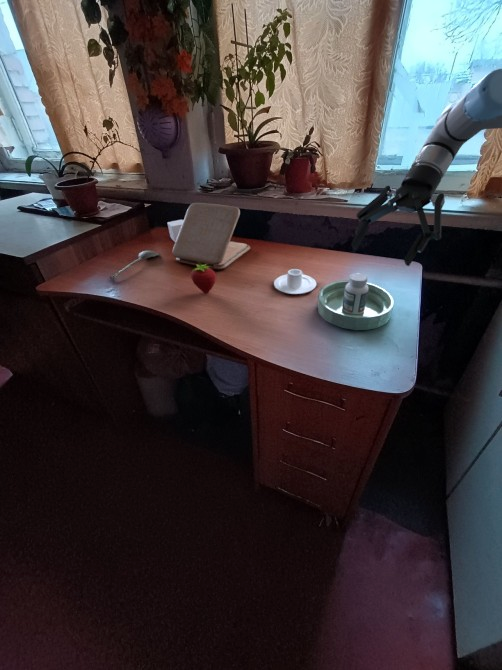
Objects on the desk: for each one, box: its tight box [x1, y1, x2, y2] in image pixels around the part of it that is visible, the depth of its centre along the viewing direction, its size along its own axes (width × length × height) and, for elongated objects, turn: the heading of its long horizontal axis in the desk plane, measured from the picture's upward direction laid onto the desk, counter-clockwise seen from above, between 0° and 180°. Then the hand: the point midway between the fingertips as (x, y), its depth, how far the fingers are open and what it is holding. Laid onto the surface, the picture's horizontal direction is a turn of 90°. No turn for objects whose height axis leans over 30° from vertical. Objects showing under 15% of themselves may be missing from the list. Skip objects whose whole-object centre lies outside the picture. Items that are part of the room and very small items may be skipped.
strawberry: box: [190, 264, 217, 295], centre depth 85 cm, size 6×8×10 cm
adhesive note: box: [167, 219, 184, 243], centre depth 122 cm, size 6×6×6 cm
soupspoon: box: [109, 249, 160, 282], centre depth 104 cm, size 22×3×7 cm
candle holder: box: [273, 268, 317, 295], centre depth 88 cm, size 12×12×4 cm
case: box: [171, 202, 251, 271], centre depth 104 cm, size 20×21×16 cm
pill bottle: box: [343, 272, 369, 315], centre depth 74 cm, size 5×5×9 cm
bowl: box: [316, 280, 395, 331], centre depth 76 cm, size 17×17×4 cm
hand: (378, 255), depth 74 cm, fingers open, 13 cm apart
